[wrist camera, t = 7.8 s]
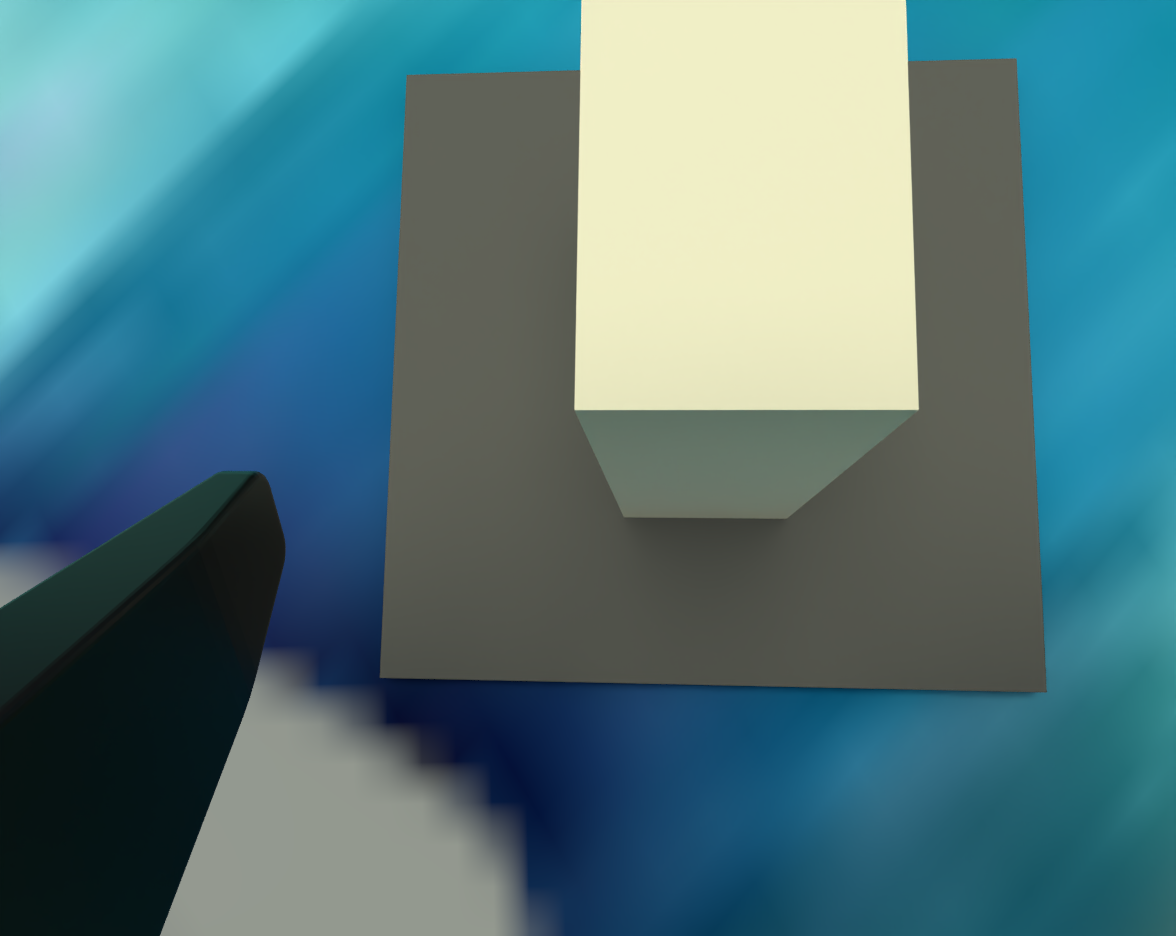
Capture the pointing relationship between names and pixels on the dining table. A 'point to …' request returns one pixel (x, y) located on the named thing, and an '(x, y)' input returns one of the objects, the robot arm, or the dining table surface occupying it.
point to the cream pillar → (742, 248)
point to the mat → (699, 545)
